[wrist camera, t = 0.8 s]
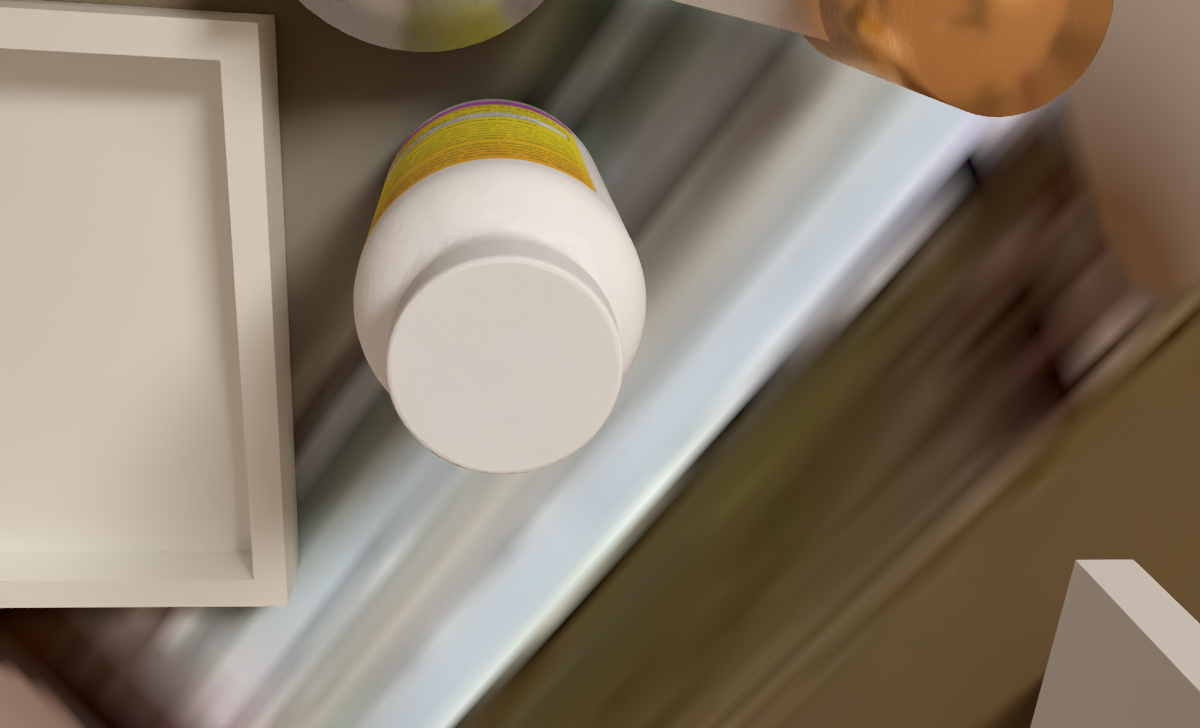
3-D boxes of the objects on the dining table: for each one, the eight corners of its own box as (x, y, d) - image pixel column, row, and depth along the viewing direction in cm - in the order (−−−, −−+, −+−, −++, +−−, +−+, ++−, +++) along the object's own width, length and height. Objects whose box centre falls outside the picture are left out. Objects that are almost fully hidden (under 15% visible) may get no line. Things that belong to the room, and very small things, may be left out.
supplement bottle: (340, 164, 31) (258, 311, 20) (534, 52, 31) (569, 133, 19) (459, 345, 34) (449, 569, 22) (640, 244, 33) (729, 421, 22)
